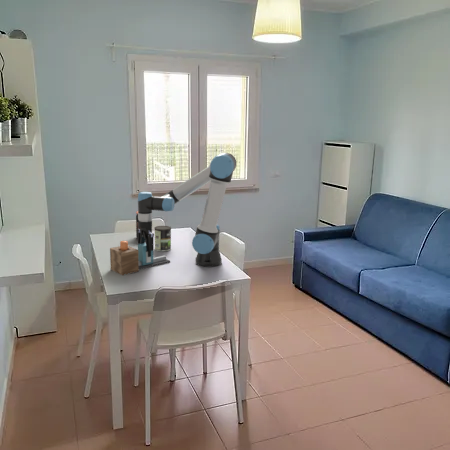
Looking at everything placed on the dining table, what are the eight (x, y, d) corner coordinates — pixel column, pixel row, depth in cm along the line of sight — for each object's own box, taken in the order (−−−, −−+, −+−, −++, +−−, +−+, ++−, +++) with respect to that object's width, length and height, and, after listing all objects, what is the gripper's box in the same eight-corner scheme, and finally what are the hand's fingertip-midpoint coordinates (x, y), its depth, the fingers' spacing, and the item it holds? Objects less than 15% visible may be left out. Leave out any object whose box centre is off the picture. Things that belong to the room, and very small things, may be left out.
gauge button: (129, 252, 238) (129, 242, 237) (122, 254, 236) (122, 243, 234) (125, 251, 241) (125, 240, 240) (118, 252, 238) (118, 241, 237)
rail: (170, 262, 256) (170, 257, 256) (137, 270, 242) (137, 264, 241) (162, 258, 262) (162, 254, 261) (129, 266, 247) (129, 261, 246)
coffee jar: (135, 235, 310) (135, 210, 306) (150, 235, 313) (150, 210, 309) (137, 239, 300) (136, 213, 296) (153, 239, 303) (153, 213, 299)
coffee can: (173, 247, 285) (173, 226, 282) (167, 252, 275) (168, 230, 272) (157, 246, 287) (157, 225, 284) (152, 250, 277) (152, 228, 274)
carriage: (153, 263, 250) (153, 244, 247) (142, 265, 245) (142, 246, 243) (148, 260, 254) (148, 242, 251) (137, 263, 249) (137, 244, 246)
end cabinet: (139, 271, 240) (139, 249, 237) (122, 275, 233) (121, 253, 230) (127, 265, 249) (127, 244, 246) (110, 269, 242) (110, 248, 239)
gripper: (160, 222, 240) (160, 263, 245) (141, 216, 253) (142, 255, 258) (148, 224, 235) (148, 266, 240) (130, 218, 248) (131, 258, 253)
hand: (145, 260), depth 249 cm, fingers closed on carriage, 5 cm apart
